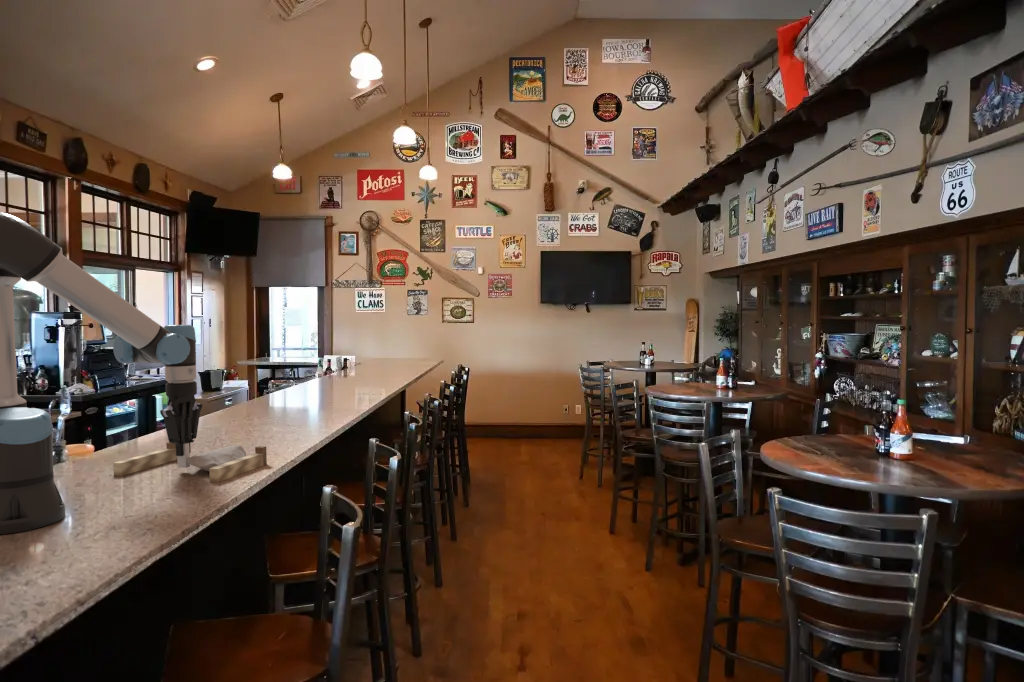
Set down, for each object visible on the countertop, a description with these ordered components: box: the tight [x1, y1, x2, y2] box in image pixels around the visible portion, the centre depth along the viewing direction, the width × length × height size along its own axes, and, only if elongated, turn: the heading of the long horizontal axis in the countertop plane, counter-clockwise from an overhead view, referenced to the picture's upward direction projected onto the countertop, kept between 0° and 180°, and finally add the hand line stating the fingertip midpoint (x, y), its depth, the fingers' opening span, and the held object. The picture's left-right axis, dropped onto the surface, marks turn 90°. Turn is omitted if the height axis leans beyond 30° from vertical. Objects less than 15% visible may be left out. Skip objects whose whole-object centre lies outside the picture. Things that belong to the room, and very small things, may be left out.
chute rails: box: [112, 441, 268, 483], centre depth 173 cm, size 20×33×5 cm, turn 76°
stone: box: [187, 444, 247, 472], centre depth 178 cm, size 12×5×25 cm
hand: (183, 466), depth 170 cm, fingers closed
